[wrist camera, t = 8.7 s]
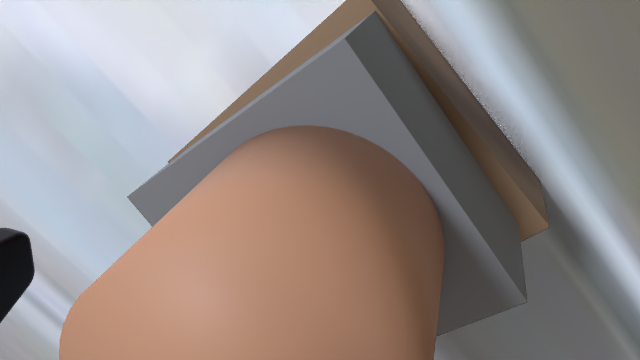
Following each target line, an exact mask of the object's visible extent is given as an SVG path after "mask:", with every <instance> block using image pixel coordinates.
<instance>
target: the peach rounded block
mask: <svg viewBox="0 0 640 360" xmlns="http://www.w3.org/2000/svg"><path fill="white" fill-rule="evenodd" d="M444 256H445V250H444V236H443V230H442V225H441V222H440V219H439V216H438V213H437V210H436V208H435V206H434V204H433V202H432V200H431V198H430V196H429V194H428V193H427V191H426V190H425V188H424V187H423V185H422V184H421V182H420V181H419V180H418V179H417V178H416V177H415V175H414V174H413V173H412V172H411V171H410V170H409V169H408V168H407V167H406V166H405V165H404V164H403V163H402V162H400V161H399V160H398V159H397V158H396V157H395V156H393V155H392V154H390V153H389V152H387V151H386V150H384V149H383V148H382V147H380V146H378V145H376V144H374V143H373V142H371V141H369V140H367V139H365V138H363V137H360V136H357V135H355V134H352V133H349V132H347V131H343V130H338V129H334V128H330V127H322V126H313V125H301V126H289V127H282V128H277V129H274V130H270V131H267V132H264V133H261V134H259V135H257V136H255V137H253V138H251V139H249V140H247V141H246V142H244V143H243V144H241V145H240V146H238V147H237V148H236V149H235V150H234V151H233V152H231V153H230V154H229V155H228V156H227V157H226V158H225V159H224V160H223V161H222V162H221V163H220V164H219V165H218V166H217V167H215V168H214V169H213V170H212V171H211V172H210V173H209V174H208V175H207V176H206V177H205V178H204V179H203V180H202V181H201V182H200V183H199V184H197V185H196V186H195V187H194V188H193V189H192V190H191V191H190V192H189V193H188V194H187V195H186V196H185V197H184V198H183V199H182V200H181V201H180V202H178V203H177V204H176V205H175V206H174V207H173V208H172V209H171V210H170V211H169V212H168V213H167V214H166V215H165V216H164V217H163V218H162V219H160V220H159V221H158V222H157V223H156V224H155V225H154V226H153V227H152V228H151V229H150V230H149V231H148V232H147V233H146V234H145V235H144V236H142V237H141V238H140V239H139V240H138V241H137V242H136V243H135V244H134V245H133V246H132V247H131V248H130V249H129V250H128V251H127V252H126V253H125V254H123V255H122V256H121V257H120V258H119V259H118V260H117V261H116V262H115V263H114V264H113V265H112V266H111V267H110V268H109V269H108V270H107V271H105V272H104V273H103V274H102V275H101V276H100V277H99V278H98V279H97V280H96V281H95V282H94V283H93V284H92V285H91V286H90V287H89V288H88V289H86V290H85V291H84V292H83V293H82V294H81V295H80V296H79V298H78V299H77V301H76V302H75V303H74V305H73V306H72V307H71V309H70V311H69V313H68V315H67V318H66V320H65V322H64V324H63V329H62V333H61V337H60V348H59V360H434V351H435V341H436V332H437V322H438V313H439V303H440V294H441V284H442V275H443V265H444Z"/></svg>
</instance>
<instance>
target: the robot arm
mask: <svg viewBox="0 0 640 360" xmlns="http://www.w3.org/2000/svg"><path fill="white" fill-rule="evenodd" d="M34 271H35V270H34V262H33V256H32V249H31V242H30V238H29V237H28V235H27V234H25V233H23V232H20V231H17V230H13V229H10V228H0V323H1V321H2V320H3V319H4V318H5V316H6V315H7V314H8V312H9V311H10V310H11V308H12V307H13V306H14V304H15V303H16V302H17V301H18V299H19V298H20V297H21V295H22V294H23V293H24V291H25V290H26V289H27V288H28V286H29V285H30V283H31V281H32V279H33V277H34Z"/></svg>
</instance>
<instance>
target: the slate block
mask: <svg viewBox="0 0 640 360" xmlns="http://www.w3.org/2000/svg"><path fill="white" fill-rule="evenodd" d="M301 125H313V126H322V127H330V128H334V129H338V130H343V131H347V132H349V133H352V134H355V135H357V136H360V137H363V138H365V139H367V140H369V141H371V142H373V143H374V144H376V145H378V146H380V147H382V148H383V149H384V150H386V151H387V152H389V153H390V154H392V155H393V156H395V157H396V158H397V159H398V160H399V161H400V162H402V163H403V164H404V165H405V166H406V167H407V168H408V169H409V170H410V171H411V172H412V173H413V174H414V175H415V177H416V178H417V179H418V180H419V181H420V182H421V184H422V185H423V187H424V188H425V190H426V191H427V193H428V194H429V196H430V198H431V200H432V202H433V204H434V206H435V208H436V210H437V213H438V216H439V219H440V222H441V225H442V230H443V236H444V250H445V256H444V265H443V275H442V284H441V294H440V303H439V313H438V322H437V332H436V336H439V335H441V334H444V333H447V332H449V331H452V330H455V329H457V328H460V327H463V326H465V325H468V324H470V323H473V322H476V321H478V320H481V319H484V318H486V317H489V316H492V315H494V314H497V313H500V312H502V311H505V310H508V309H510V308H513V307H516V306H518V305H521V304H523V303H526V302H527V295H526V286H525V278H524V269H523V261H522V252H521V243H520V235H519V226H518V223H517V221H516V220H515V218H514V217H513V215H512V214H511V212H510V211H509V209H508V208H507V206H506V205H505V203H504V202H503V200H502V199H501V197H500V196H499V194H498V193H497V191H496V190H495V188H494V187H493V185H492V184H491V182H490V181H489V179H488V178H487V176H486V175H485V173H484V172H483V170H482V169H481V167H480V166H479V164H478V163H477V161H476V160H475V159H474V157H473V156H472V154H471V153H470V151H469V150H468V148H467V147H466V145H465V144H464V142H463V141H462V139H461V138H460V136H459V135H458V133H457V132H456V130H455V129H454V127H453V126H452V124H451V123H450V121H449V120H448V118H447V117H446V115H445V114H444V112H443V111H442V109H441V108H440V106H439V105H438V103H437V102H436V100H435V99H434V97H433V96H432V94H431V93H430V91H429V90H428V88H427V87H426V85H425V84H424V83H423V81H422V80H421V78H420V77H419V75H418V74H417V72H416V71H415V69H414V68H413V66H412V65H411V63H410V62H409V60H408V59H407V57H406V56H405V54H404V53H403V51H402V50H401V48H400V47H399V45H398V44H397V42H396V41H395V39H394V38H393V36H392V35H391V33H390V32H389V30H388V29H387V27H386V26H385V24H384V23H383V21H382V20H381V18H380V17H379V15H378V14H377V12H376V11H373V12H372V13H371V14H369V15H368V16H367V17H365V18H364V19H363V20H361V21H360V22H359V23H357V24H356V25H354V26H353V27H352V28H350V29H349V30H348V31H346V32H345V33H344V34H342V35H341V36H340V37H338V38H337V39H335V40H334V41H333V42H331V43H330V44H329V45H327V46H326V47H325V48H323V49H322V50H321V51H319V52H318V53H316V54H315V55H314V56H312V57H311V58H310V59H308V60H307V61H306V62H304V63H303V64H301V65H300V66H299V67H297V68H296V69H295V70H293V71H292V72H291V73H289V74H288V75H287V76H285V77H284V78H282V79H281V80H280V81H278V82H277V83H276V84H274V85H273V86H272V87H270V88H269V89H268V90H266V91H265V92H263V93H262V94H261V95H259V96H258V97H257V98H255V99H254V100H253V101H251V102H250V103H248V104H247V105H246V106H244V107H243V108H242V109H240V110H239V111H238V112H236V113H235V114H234V115H232V116H231V117H229V118H228V119H227V120H225V121H224V122H223V123H221V124H220V125H219V126H217V127H216V128H215V129H213V130H212V131H210V132H209V133H208V134H206V135H205V136H204V137H202V138H201V139H200V140H198V141H197V142H196V143H194V144H193V145H191V146H190V147H189V148H188V149H186V150H185V151H184V152H183V153H181V154H180V155H179V156H178V157H176V158H175V159H174V160H173V161H171V162H170V163H169V164H168V165H166V166H165V167H164V168H163V169H161V170H160V171H159V172H158V173H156V174H155V175H154V176H153V177H151V178H150V179H149V180H148V181H146V182H145V183H144V184H143V185H141V186H140V187H139V188H138V189H136V190H135V191H134V192H133V193H131V194H130V195H129V196H128V197H127V198H128V199H129V200H130V201H131V202H132V203H133V205H134V206H135V207H136V208H137V209H138V210H139V212H140V213H141V214H142V215H143V216H144V217H145V219H146V220H147V221H148V222H149V223H150V224H151V226H152V227H153V226H154V225H155V224H156V223H157V222H158V221H159V220H160V219H162V218H163V217H164V216H165V215H166V214H167V213H168V212H169V211H170V210H171V209H172V208H173V207H174V206H175V205H176V204H177V203H178V202H180V201H181V200H182V199H183V198H184V197H185V196H186V195H187V194H188V193H189V192H190V191H191V190H192V189H193V188H194V187H195V186H196V185H197V184H199V183H200V182H201V181H202V180H203V179H204V178H205V177H206V176H207V175H208V174H209V173H210V172H211V171H212V170H213V169H214V168H215V167H217V166H218V165H219V164H220V163H221V162H222V161H223V160H224V159H225V158H226V157H227V156H228V155H229V154H230V153H231V152H233V151H234V150H235V149H236V148H237V147H238V146H240V145H241V144H243V143H244V142H246V141H247V140H249V139H251V138H253V137H255V136H257V135H259V134H261V133H264V132H267V131H270V130H274V129H277V128H282V127H289V126H301Z"/></svg>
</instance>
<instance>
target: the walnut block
mask: <svg viewBox="0 0 640 360" xmlns="http://www.w3.org/2000/svg"><path fill="white" fill-rule="evenodd" d="M373 11H376V12H377V14H378V15H379V17H380V18H381V20H382V21H383V23H384V24H385V26H386V27H387V29H388V30H389V32H390V33H391V35H392V36H393V38H394V39H395V41H396V42H397V44H398V45H399V47H400V48H401V50H402V51H403V53H404V54H405V56H406V57H407V59H408V60H409V62H410V63H411V65H412V66H413V68H414V69H415V71H416V72H417V74H418V75H419V77H420V78H421V80H422V81H423V83H424V84H425V85H426V87H427V88H428V90H429V91H430V93H431V94H432V96H433V97H434V99H435V100H436V102H437V103H438V105H439V106H440V108H441V109H442V111H443V112H444V114H445V115H446V117H447V118H448V120H449V121H450V123H451V124H452V126H453V127H454V129H455V130H456V132H457V133H458V135H459V136H460V138H461V139H462V141H463V142H464V144H465V145H466V147H467V148H468V150H469V151H470V153H471V154H472V156H473V157H474V159H475V160H476V161H477V163H478V164H479V166H480V167H481V169H482V170H483V172H484V173H485V175H486V176H487V178H488V179H489V181H490V182H491V184H492V185H493V187H494V188H495V190H496V191H497V193H498V194H499V196H500V197H501V199H502V200H503V202H504V203H505V205H506V206H507V208H508V209H509V211H510V212H511V214H512V215H513V217H514V218H515V220H516V221H517V223H518V226H519V235H520V242H522V241H524V240H526V239H528V238H529V237H531V236H533V235H535V234H537V233H539V232H541V231H543V230H545V229H547V228H549V227H550V226H549V221H548V216H547V212H546V207H545V202H544V198H543V193H542V188H541V183H540V180H539V179H538V178H537V176H536V175H535V174H534V172H533V171H532V170H531V168H530V167H529V166H528V165H527V163H526V162H525V161H524V159H523V158H522V157H521V156H520V154H519V153H518V152H517V150H516V149H515V148H514V147H513V145H512V144H511V143H510V141H509V140H508V139H507V138H506V136H505V135H504V134H503V132H502V131H501V130H500V129H499V127H498V126H497V125H496V123H495V122H494V121H493V120H492V118H491V117H490V116H489V114H488V113H487V112H486V111H485V109H484V108H483V107H482V105H481V104H480V103H479V102H478V100H477V99H476V98H475V96H474V95H473V94H472V93H471V91H470V90H469V89H468V87H467V86H466V85H465V84H464V82H463V81H462V80H461V78H460V77H459V76H458V75H457V73H456V72H455V71H454V69H453V68H452V67H451V65H450V64H449V63H448V62H447V60H446V59H445V58H444V56H443V55H442V54H441V53H440V51H439V50H438V49H437V47H436V46H435V45H434V44H433V42H432V41H431V40H430V38H429V37H428V36H427V35H426V33H425V32H424V31H423V29H422V28H421V27H420V26H419V24H418V23H417V22H416V20H415V19H414V18H413V17H412V15H411V14H410V13H409V11H408V10H407V9H406V8H405V6H404V5H403V4H402V2H401V1H400V0H346V1H345V2H344V3H343V4H342V5H341V6H340V7H338V8H337V9H336V10H335V11H334V12H333V13H332V14H331V15H330V16H328V17H327V18H326V19H325V20H324V21H323V22H322V23H321V24H320V25H319V26H317V27H316V28H315V29H314V30H313V31H312V32H311V33H310V34H309V35H307V36H306V37H305V38H304V39H303V40H302V41H301V42H300V43H299V44H298V45H296V46H295V47H294V48H293V49H292V50H291V51H290V52H289V53H288V54H286V55H285V56H284V57H283V58H282V59H281V60H280V61H279V62H278V63H277V64H275V65H274V66H273V67H272V68H271V69H270V70H269V71H268V72H267V73H265V74H264V75H263V76H262V77H261V78H260V79H259V80H258V81H257V82H256V83H254V84H253V85H252V86H251V87H250V88H249V89H248V90H247V91H246V92H244V93H243V94H242V95H241V96H240V97H239V98H238V99H237V100H236V101H235V102H233V103H232V104H231V105H230V106H229V107H228V108H227V109H226V110H225V111H223V112H222V113H221V114H220V115H219V116H218V117H217V118H216V119H215V120H214V121H212V122H211V123H210V124H209V125H208V126H207V127H206V128H205V129H204V130H203V131H201V132H200V133H199V134H198V135H197V136H196V137H195V138H194V139H193V140H191V141H190V142H189V143H188V144H187V145H186V146H185V147H184V148H183V149H182V150H180V151H179V152H178V153H177V154H176V155H175V156H174V157H173V158H172V159H170V160H169V161H168V163H170V162H171V161H173V160H174V159H175V158H176V157H178V156H179V155H180V154H181V153H183V152H184V151H185V150H186V149H188V148H189V147H190V146H191V145H193V144H194V143H196V142H197V141H198V140H200V139H201V138H202V137H204V136H205V135H206V134H208V133H209V132H210V131H212V130H213V129H215V128H216V127H217V126H219V125H220V124H221V123H223V122H224V121H225V120H227V119H228V118H229V117H231V116H232V115H234V114H235V113H236V112H238V111H239V110H240V109H242V108H243V107H244V106H246V105H247V104H248V103H250V102H251V101H253V100H254V99H255V98H257V97H258V96H259V95H261V94H262V93H263V92H265V91H266V90H268V89H269V88H270V87H272V86H273V85H274V84H276V83H277V82H278V81H280V80H281V79H282V78H284V77H285V76H287V75H288V74H289V73H291V72H292V71H293V70H295V69H296V68H297V67H299V66H300V65H301V64H303V63H304V62H306V61H307V60H308V59H310V58H311V57H312V56H314V55H315V54H316V53H318V52H319V51H321V50H322V49H323V48H325V47H326V46H327V45H329V44H330V43H331V42H333V41H334V40H335V39H337V38H338V37H340V36H341V35H342V34H344V33H345V32H346V31H348V30H349V29H350V28H352V27H353V26H354V25H356V24H357V23H359V22H360V21H361V20H363V19H364V18H365V17H367V16H368V15H369V14H371V13H372V12H373Z"/></svg>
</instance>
